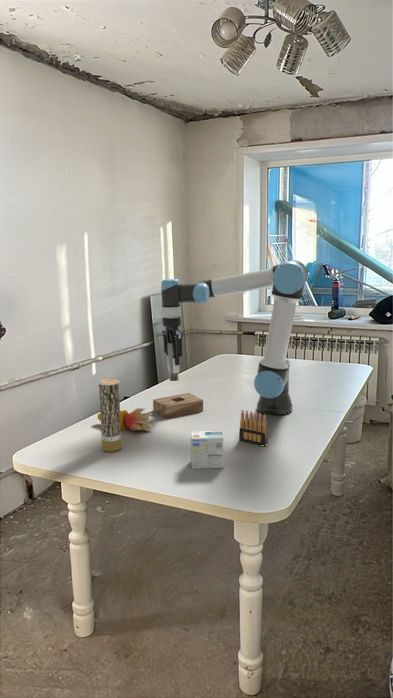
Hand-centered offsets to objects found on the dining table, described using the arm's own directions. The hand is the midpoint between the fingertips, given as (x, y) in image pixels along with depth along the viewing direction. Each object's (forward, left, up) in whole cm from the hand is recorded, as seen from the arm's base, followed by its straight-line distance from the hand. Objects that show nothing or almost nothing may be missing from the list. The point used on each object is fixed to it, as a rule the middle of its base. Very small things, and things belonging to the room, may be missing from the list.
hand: (173, 371), depth 223 cm
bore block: (0, -2, -18) cm, 18 cm away
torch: (-7, +26, -18) cm, 32 cm away
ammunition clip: (-46, -8, -18) cm, 50 cm away
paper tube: (-24, +38, -18) cm, 49 cm away
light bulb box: (-53, +16, -18) cm, 58 cm away
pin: (0, 0, -4) cm, 4 cm away
